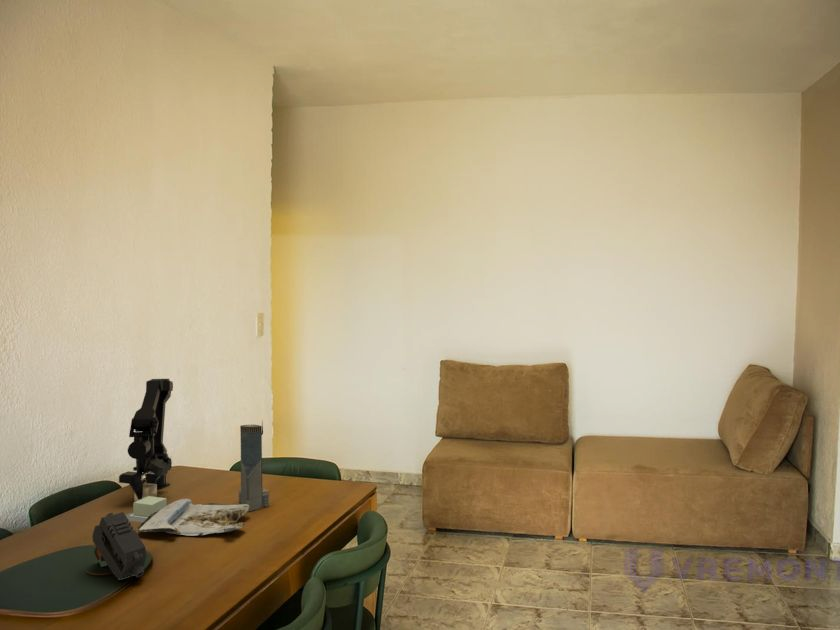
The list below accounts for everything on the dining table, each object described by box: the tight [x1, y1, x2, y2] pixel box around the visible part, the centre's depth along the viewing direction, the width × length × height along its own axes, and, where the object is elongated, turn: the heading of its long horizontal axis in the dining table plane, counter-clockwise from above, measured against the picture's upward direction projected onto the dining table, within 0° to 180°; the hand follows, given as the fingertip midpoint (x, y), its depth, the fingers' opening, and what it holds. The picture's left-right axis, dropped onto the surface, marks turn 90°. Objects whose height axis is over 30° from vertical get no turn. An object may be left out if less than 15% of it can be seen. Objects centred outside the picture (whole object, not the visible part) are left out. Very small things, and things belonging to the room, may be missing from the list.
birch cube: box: [133, 482, 158, 502], centre depth 234 cm, size 5×5×5 cm
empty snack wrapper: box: [136, 498, 249, 537], centre depth 209 cm, size 24×30×5 cm
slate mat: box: [125, 511, 148, 524], centre depth 220 cm, size 16×12×1 cm
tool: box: [92, 511, 148, 579], centre depth 176 cm, size 6×19×15 cm, turn 51°
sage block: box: [132, 496, 168, 517], centre depth 220 cm, size 7×7×4 cm
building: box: [238, 421, 270, 513], centre depth 226 cm, size 10×9×30 cm
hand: (145, 497), depth 234 cm, fingers closed on birch cube, 5 cm apart
